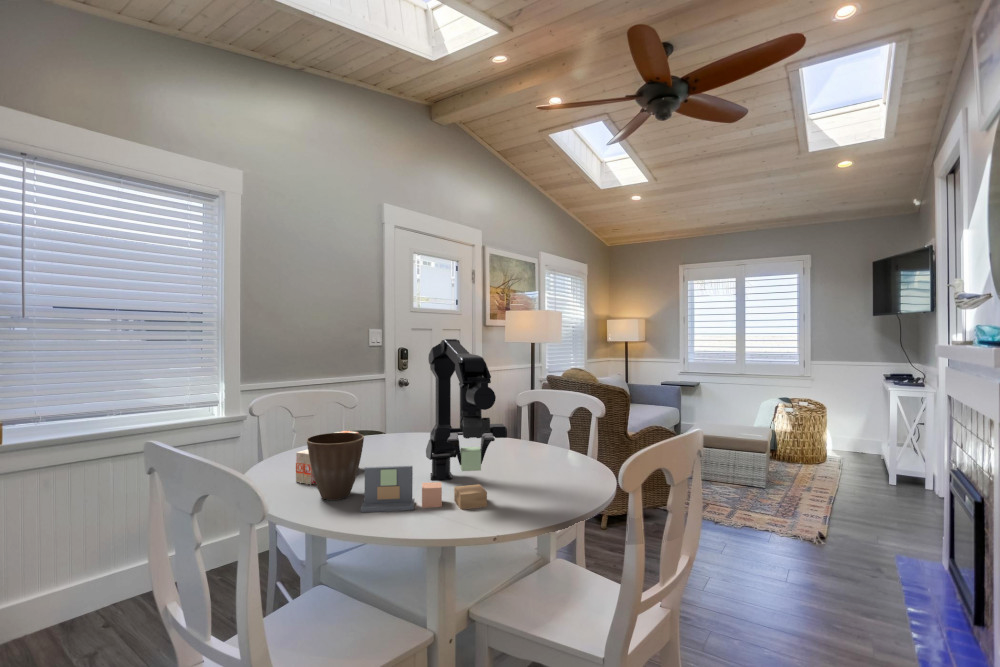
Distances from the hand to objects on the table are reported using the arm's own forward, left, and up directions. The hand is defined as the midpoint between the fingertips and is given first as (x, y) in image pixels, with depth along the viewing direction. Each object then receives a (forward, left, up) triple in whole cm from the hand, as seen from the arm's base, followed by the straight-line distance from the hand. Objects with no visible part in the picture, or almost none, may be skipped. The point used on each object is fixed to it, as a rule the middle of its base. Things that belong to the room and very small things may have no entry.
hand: (470, 464), depth 133 cm
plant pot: (-11, -36, -10) cm, 39 cm away
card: (0, -21, -10) cm, 23 cm away
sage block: (0, 0, -1) cm, 1 cm away
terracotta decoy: (-1, -10, -10) cm, 14 cm away
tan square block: (0, 0, -10) cm, 11 cm away
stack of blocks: (-33, -42, -11) cm, 54 cm away
